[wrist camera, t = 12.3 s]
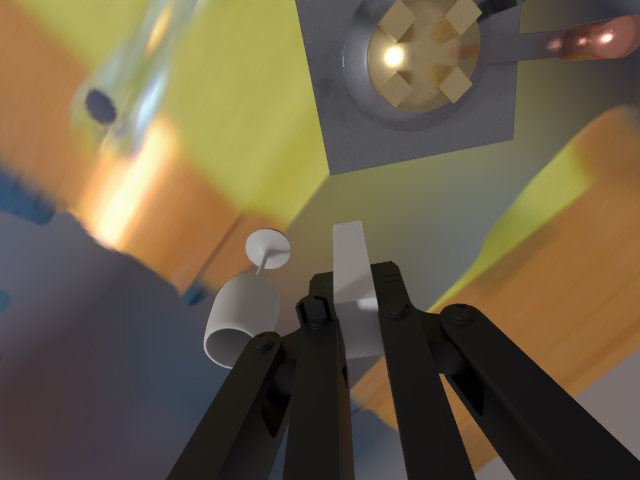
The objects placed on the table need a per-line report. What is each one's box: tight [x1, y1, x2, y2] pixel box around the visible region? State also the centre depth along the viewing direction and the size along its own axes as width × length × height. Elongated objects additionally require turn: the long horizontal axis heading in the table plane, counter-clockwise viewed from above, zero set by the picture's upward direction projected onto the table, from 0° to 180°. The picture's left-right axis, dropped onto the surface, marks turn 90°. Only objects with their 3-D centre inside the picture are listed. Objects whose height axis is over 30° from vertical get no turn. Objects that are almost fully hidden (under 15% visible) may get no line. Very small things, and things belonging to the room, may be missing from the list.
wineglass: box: [204, 228, 291, 369], centre depth 42 cm, size 8×8×21 cm
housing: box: [295, 0, 525, 175], centre depth 36 cm, size 24×24×6 cm
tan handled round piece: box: [366, 0, 640, 113], centre depth 32 cm, size 23×11×7 cm, turn 94°
